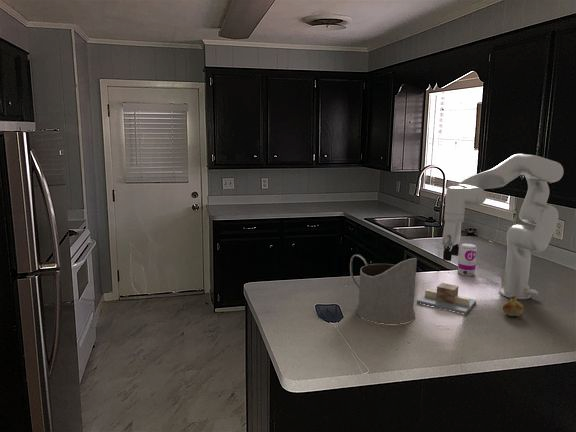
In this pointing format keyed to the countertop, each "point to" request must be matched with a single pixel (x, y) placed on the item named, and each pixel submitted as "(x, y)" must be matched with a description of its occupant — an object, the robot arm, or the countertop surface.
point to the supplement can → (467, 259)
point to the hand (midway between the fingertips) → (450, 257)
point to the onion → (513, 307)
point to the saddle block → (446, 292)
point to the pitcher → (386, 291)
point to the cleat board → (458, 306)
